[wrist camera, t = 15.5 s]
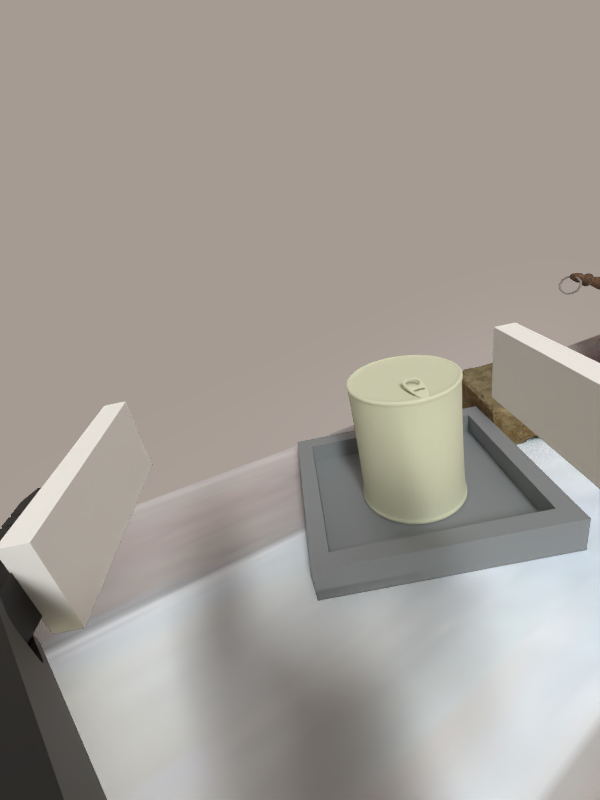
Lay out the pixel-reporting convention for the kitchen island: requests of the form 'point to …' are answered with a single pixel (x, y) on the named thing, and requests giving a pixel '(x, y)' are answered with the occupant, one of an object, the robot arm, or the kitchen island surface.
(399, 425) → the can
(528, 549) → the tray
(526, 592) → the kitchen island surface
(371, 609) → the kitchen island surface
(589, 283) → the coffee pot
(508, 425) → the stone block
